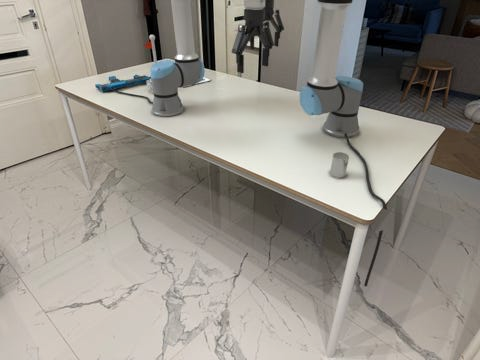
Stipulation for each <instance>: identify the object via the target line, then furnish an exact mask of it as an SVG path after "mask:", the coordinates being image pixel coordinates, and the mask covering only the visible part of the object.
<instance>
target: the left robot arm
mask: <svg viewBox="0 0 480 360" xmlns="http://www.w3.org/2000/svg"><path fill="white" fill-rule="evenodd" d="M170 4H171V12H172V20H173V21H172V23H173V29H174V38H175V46H176V54H175V56H174V60H171V59H170V60H167V59H166V60H160V61H157V63H155V64H154V63H153V64H152V65H151V66H150V68H149V70H150V72H149V73H150V77H151V80H152V87H153V93H152V94H153V100H152V101H151V100H150V98H149V97H148V96H145V95H139V94H134V93H128V92H123V91H120V90H117V89H114V91H113V92H116V93H119V94H121V95H127V96H132V97H138V98H143V99H146V100H147V101H148V103H149V104H152V106H151V111H152V114H153V115H154V116H157V117H174V116H177V115H180V114H181V113H183V112H184V105H183V103H182V100H181V98H180V96H179V91H178V89H179V88H185V87H184V86H187V87H189V86H188V85H191V86H195V85H197V84H196V83H199V82H201V80H202V79H203V77H205V71H206V69H205V65H204V63H203V61H202V60H201V59H200V57H199V55H198V54H197V53H196V47H195V38H194V37H195V36H194V25H193V15H192V3H191V0H170ZM243 7H244V9H243V20H244V22H245V23H244V24H238V26H237V33H236V36H235V38H234V43H233V45H232V49H231V53H232V54H234V55H235V59H236V60H235V62H236V72H237V73H241V74H244V71H245V67H244V66H245V65H244V64H245V55H244V54H243V52H245V49H246V47H247V46H248V45H249V43H250V42H249V40H250V39H251V38H252V37H254V38H255V37H257V38H258V39H259V41H260V42H261V44H262V46H263V48H262V54H261V55H262V56H261V60H262V61H261V66H264V67H269V58H270V53H271V52H270V50H272V49H273V47H275V46H274V38H273V35H272V32H271V28H270V21H264V19H265V9H263V8H264V7H265V0H243ZM194 84H195V85H194ZM199 84H200V83H199Z"/></svg>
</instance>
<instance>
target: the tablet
mask: <svg viewBox="0 0 480 360" xmlns="http://www.w3.org/2000/svg"><path fill="white" fill-rule="evenodd" d="M207 82H212V79H210V78H207V77H205V76H204V77H203V79H202V80H201V82H199V83H196V84H194V85H193V86H195V85H199V84H204V83H207ZM191 86H192V85H188V86H184V87H183V88H188V87H191Z"/></svg>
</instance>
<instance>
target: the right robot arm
mask: <svg viewBox="0 0 480 360" xmlns="http://www.w3.org/2000/svg"><path fill="white" fill-rule="evenodd" d="M353 1H354V0H317V3H318V4H319V6H320V13H319V20H318V30H317V36H316V42H315V52H314V57H313V66H312V73H311V76H309V77H308V78H307V80H306V81H307V82H306V86H303V87H302V88H301V89H300V91H299V94H298V95H299V96H298V98H299V103H300V106H301V108H302V110H303V112H304V113H305V114H307V115H308V116H312V117H313V116H321V115H324V114H328V115H327V117H326V120H325V121H324V123H323V126H322V130H323V132H324V133H325V134H326V135H329V136H332V137H335V138H339V139H341V138H342V139H345V140H346V143H347V145H348V147H349V148H350V149H351V150H352V151H353V152H354V153H355V154H356V156H358V157H359V159H360V160H361V162H362V163H363V166H364V170H365V176H366V184H367V188H368V192H369V193H370V195H371V196H372V197H373V198H375V199H376V200H378V201H379V202H380V203H381V205H382V207H383V209H384V210H387V209H388V207H387V204H386V201H385V200H384V199H383V198H382V197H380V196H378V195H377V194H375V192H374V190H373V189H372V185H371V179H370V172H369V167H368V164H367V161H366V159H365V158H364V157H363V155H361V153H360V152H359V151H358V150H357V149H356V148H355V147H354V146H353V145H352V143H351V142H350V140H349V138H354V137H356V136H357V135H359V132H360V125H359V118H358V117H359V116H358V114H359V111H360V110H359V109H360V105H361V101H362V96H363V92H364V91H363V89H364V82H363V81H362V80H361V79H359V78H356V77H353V76H346V75H336V72H337V65H338V60H339V53H340V49H341V43H342V37H343V32H344V26H345V20H346V14H347V9H348V8H349V7H350V6H351V5H352V4H353ZM274 8H275V0H265V7H264V8H263V9H265V19H264V21H268V22H269V23H270V24H271V25H272V26H273V28H274V30H275V31H274V38H273V42H274V46H273V47H277V48H278V47H279V41H280V40H281V33H282V32H283V31H284V30H285V27H284V24H283V21H282V19H281V18H282V17H281V15H280V9H277V8H275V9H274ZM274 17H275V18H274ZM248 43H249V49H250V50H255V37H252V38H251V39H250V40H249V42H248ZM383 232H384V230H383V229H382V230H380V231H378V236H377V241H376V244H375V248H374V252H373V255H372V258H371V262H370V264H369V268H368V271H367V274H366V278H365V281H364V284H363V286H364V287H367V286H368V284H369V280H370V277H371V274H372V271H373V268H374V265H375V261H376V259H377V255H378V252H379V248H380V244H381V241H382V237H383Z"/></svg>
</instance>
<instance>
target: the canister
mask: <svg viewBox="0 0 480 360" xmlns="http://www.w3.org/2000/svg"><path fill="white" fill-rule="evenodd" d="M349 160H350V155H348V154H347V153H345V152H340V151H338V152H333V154H332V157H331V164H330V171H329V174H330V176H331V177H333V178H337V179H343V178H345V177H346V175H347V169H348V165H349Z"/></svg>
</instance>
